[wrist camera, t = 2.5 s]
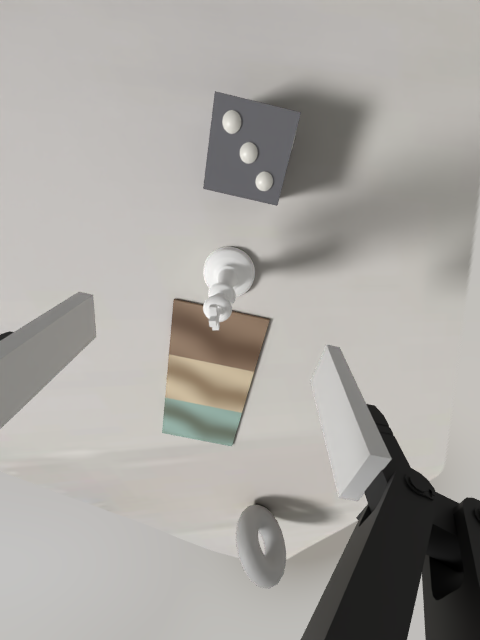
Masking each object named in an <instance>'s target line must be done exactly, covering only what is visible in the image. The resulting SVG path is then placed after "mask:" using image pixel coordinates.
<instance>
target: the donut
mask: <svg viewBox="0 0 480 640" xmlns="http://www.w3.org/2000/svg"><path fill="white" fill-rule="evenodd" d="M258 531H259V533H260V534H261V536H262V539H263V542H264V547H265V555H264V554H263V553H262V550H261V548H260V545H259V540H258ZM236 546H237V551H238V556H239V559H240V562H241V564H242V567H243V569H244V571H245V573H246V574H247V576H248V577H249V579H250V580H251V581H252V582H253V583H255V584H256V585H257V586H259V587H262V588H271V587H273V586H274V585H276V584H277V583H278V582H279V581H280V579H281V577H282V576H283V574H284V569H285V563H286V549H285V542H284V538H283V535H282V531H281V529H280V526H279V524H278V522H277V520H276V519H275V517H274V516H273V514H272V513H271V512H270V511H269V510H268V509H266V508H265V507H263V506H260V505H252V506H249V507H247V508H246V509H245V510H244V511H243V512H242V514H241V516H240V518H239V520H238V524H237V530H236Z"/></svg>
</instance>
